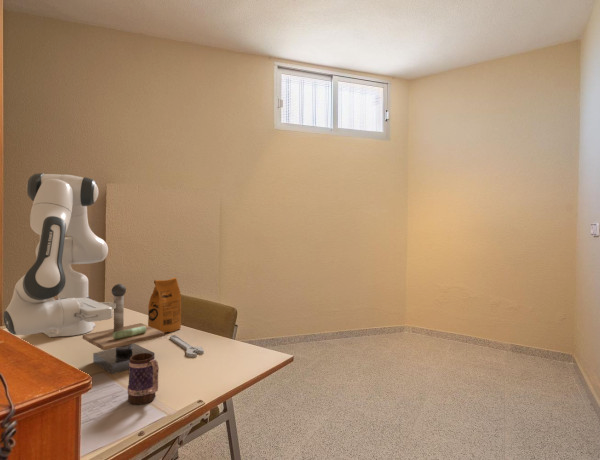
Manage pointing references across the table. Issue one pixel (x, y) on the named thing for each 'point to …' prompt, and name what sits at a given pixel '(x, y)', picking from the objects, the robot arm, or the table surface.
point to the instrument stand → (118, 357)
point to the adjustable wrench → (187, 346)
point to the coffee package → (165, 306)
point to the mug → (142, 378)
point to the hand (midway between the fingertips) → (114, 305)
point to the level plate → (110, 343)
